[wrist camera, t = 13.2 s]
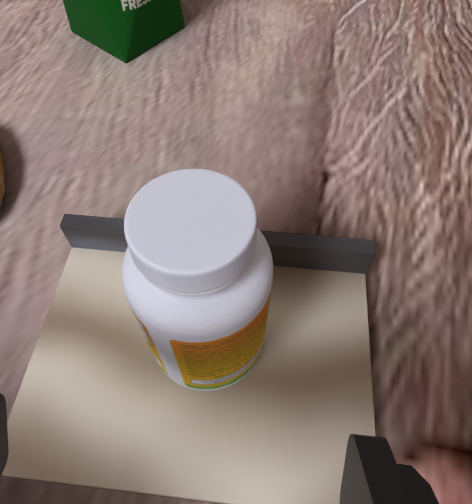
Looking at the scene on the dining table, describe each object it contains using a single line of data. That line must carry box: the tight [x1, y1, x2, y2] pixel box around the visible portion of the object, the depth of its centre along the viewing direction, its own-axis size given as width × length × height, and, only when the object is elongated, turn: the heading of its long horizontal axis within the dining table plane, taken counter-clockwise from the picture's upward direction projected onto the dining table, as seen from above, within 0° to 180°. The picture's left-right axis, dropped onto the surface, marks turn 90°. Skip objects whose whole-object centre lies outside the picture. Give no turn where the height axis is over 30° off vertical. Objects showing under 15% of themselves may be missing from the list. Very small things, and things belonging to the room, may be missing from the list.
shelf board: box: [1, 214, 376, 504], centre depth 20 cm, size 12×16×4 cm
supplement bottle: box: [122, 169, 273, 391], centre depth 17 cm, size 5×5×10 cm
